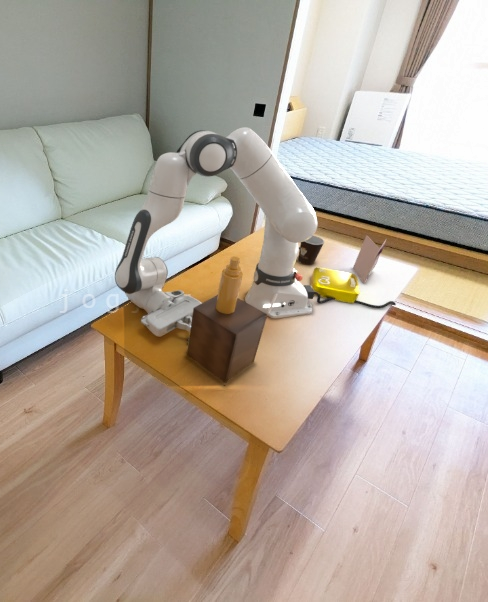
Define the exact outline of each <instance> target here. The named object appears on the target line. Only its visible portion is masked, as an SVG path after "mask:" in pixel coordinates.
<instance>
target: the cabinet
mask: <svg viewBox="0 0 488 602" xmlns="http://www.w3.org/2000/svg"><path fill="white" fill-rule="evenodd" d="M217 297H218V294H216V295H214V296H212V297H211V298H209V299H207V300H204V302H201V303H202V304H200V305H198V306H196V307H194V309H193V316H192V323H191V330H190V332H189V337H188V338H189V345H188V344H187V348H188V351H187V352H186V356H188V357H189V358H190V359H192V360H193V361H194V362H196V364H197V363H198V365H200V366H201V367H203V368H204V369H205V370H207V371H208V372H210V374H212V375H213V376H214V377H216V378H217V379H218V380H220V381H221V382H223V383H224V384H223V386H224V387H225V386H226V383H227V382H229V381H230V380H231V379H232V378H234V377H236V376H237V375H238V374H239V373H241V372H242V371H243V370H245V369H246V368H247V367H249V366H250V365H252V364H253V363H254V362H255V359H256V355H257V353H258V348H259V346H260V345H259V344H260V341H261V338H262V334H263V331H264V329H265V325H266V321H267V317H268V316H267V314H266V313H264V312H262V311H261V310H259V309H257V308H255V307H253V306H252V305H250V304H248V303H246V301H245V300H242V299H241V298H239V297H238V298H237V303H236V307H235V311H234V312H233V313H231V314H224V313H221V312H219V311H218V310H217V309H216V302H217Z"/></svg>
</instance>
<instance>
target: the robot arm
mask: <svg viewBox="0 0 488 602" xmlns="http://www.w3.org/2000/svg"><path fill="white" fill-rule="evenodd" d="M228 169H230V170H231V171H232V172H233V174H234V175H235V176H236V178H237V179H238V180H239V181H240V183H241V184H242V185H243V187H244V188H245V189H246V191H247V192H248V193H249V194H250V196H251V198H253V200H254V201H255V202H256V204H257V205H258V206H259V208H260V209H261V211H262V212H263V214H264V215H265V221H264V229H263V239H262V240H263V241H262V242H263V243H262V248H261V251H260V255H259V259H258V262H257V264H256V267H255V269H254V272H253V281H252V283H251V286H250V288H249V289H248V292H247V293H246V295H245V297H244V302H246V303H248V304H250V305H252V306H253V307H255V308H257V309H259V310H261V311H262V312H264V313H266V314H267V317H269V318H270V319H273V320H274V319H282V318H290V317H297V316H304V315H309V314H312V312H313V305H312V303H311V301H310V300H313V299H314V297H315V295H317V296H316V297H317V298H316V303H317V304H320V305H321V304H325V303H327V302H329V301H335V300H334V299H336V298H334V297H330V298H324V299H323V300H321V298H322V297H321V296H320V294H319V293H318V292H315V291H314V290H313V288H312V287H311V284H307V285H306V284H304V285H303V284H302V282H301V281H302V280H303V278H304V277H303V276H302V274H301V273H298V270H297V269H295V266H296V261H297V260H298V256H299V247H300V244H301V242H304V241H306V240H308V239H309V238H311V237H312V236H315V235H314V234H315V233H316V232H317V229H318V226H319V224H318V218H317V214H316V211H315V209H314V208H313V206H312V205H311V203H309V201H308V199H307V198H306V197H305V196H304V194H303V193H302V192H301V190H300V189H299V187H298V186H297V185H296V183H295V182H294V181H293V179H292V178H291V176H290V175H289V173H288V172H287V170H286V169H285V168H284V167H283V165H282V164H281V162H280V161H279V159H278V157H276V155H275V154H274V153H273V151H272V149H271V148H270V147H269V146H268V144H267V143H266V142H265V141H264V140H263V139H262V138H261V136H259V135H258V134H257V133H256V132H255V131H254V130H253V129H251V128H250V127H246V126H244V127H240V128H236V129H235V130H234V131H232V132H231V133H229V135H227V136H223V135H220V134H219V133H216V132H214V131H211V130H203V129H201V130H196V131H194V132H192V133H191V134H189V135H188V136H187V138H186V139H185V140H184V141H183V142H182V144H181V145H180V146H179V148H177V150H176V152H172V151H171V152H166V153H165V152H164V153H162V154H161V155H160V156H158V158H157V160H156V162H155V165H154V168H153V171H152V173H151V174H152V175H151V176H150V181H149V186H148V190H147V194H146V197H145V200H144V203H143V205H142V207H141V208H140V210H139V211H138V212H137V213H136V215H135V217H134V219H133V221H132V223H131V227H130V230H129V233H128V236H127V240H126V243H125V246H124V250H123V253H122V256H121V258H120V260H119V263H118V265H117V266H116V268H115V272H114V282H115V284H116V286H117V287H118V289H119V290H121V291H122V292H123V293H124V294H125V295H126V297H127V299H128V300H129V301H130V302H131V303H132V304H133V305H135V306H136V307H138V308H139V309H143V310H144V311H145V312H146V313H147V314H144V315H143V316H141V319H140V322H141V324H142V325H144V326H145V327H146V328H147V329H148V330H149V332H150V333H152V334H153V335H154V336H155V337H158V338H159V337H160V338H161V337H163V336H164V335H165V336H166V335H167V334H168V333H170V332H172V331H173V330H175V329H180V330H184V331H185V330H186V331H187V332H188V333H190V330H191V323H192V316H193V309H194V307H196V306H198V305H200V304H202V303H203V302H201V301H200V300H199V299H197V298H195V297H193V296H192V295H189V294H185V291H183V290H180V289H178V290H174V291H173V290H172V291H163V289H164V286H165V284H166V282H167V278H168V275H169V270H168V265H167V264H166V262H165V261H164V260H163V259H162V258H160V257H159V256H152V257H146V258H145V257H144V258H143V256H144V254H145V251H146V246H147V245H148V241H149V240H150V238H151V237H152V236H153V235H154V234H156V232H158V231H159V230H160V229H162V228H164V227H166V226H167V225H170V224H172V223H173V222H175V221H176V220H177V218H178V217H179V216H180V215H181V212H182V211H183V208H184V205H185V200H186V195H187V190H188V186H189V184H190V181H191V180H192V178H193V177H194V176H195V175H199V176H202V177H207V178H208V177H209V178H210V177H215V176H217V175H219V174H221V173H223V172H224V171H226V170H228ZM314 294H315V295H314ZM353 304H357V305H362V306H364V307H368V308H371V309H384V308H387V307H388V306H391V305H392V306H397V303H396V302H395V301H394V300H389V301H386V303H384V304H382V305H381V304H380V305H375V304H371V303H367V302H363V301H362V300H361V301H360V300H358V299H356V301H354V303H353Z"/></svg>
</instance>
